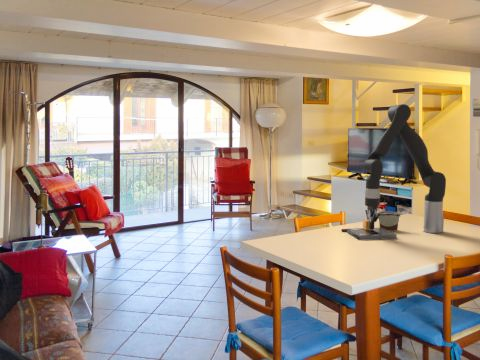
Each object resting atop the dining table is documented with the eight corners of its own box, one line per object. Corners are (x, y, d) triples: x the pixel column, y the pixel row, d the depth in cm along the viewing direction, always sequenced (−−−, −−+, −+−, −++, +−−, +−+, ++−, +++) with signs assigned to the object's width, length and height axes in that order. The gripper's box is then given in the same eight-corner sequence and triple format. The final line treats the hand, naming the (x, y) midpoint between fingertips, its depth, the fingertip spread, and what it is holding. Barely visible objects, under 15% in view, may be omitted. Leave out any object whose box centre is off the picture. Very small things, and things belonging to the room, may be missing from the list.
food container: (397, 228, 269) (397, 211, 268) (399, 230, 263) (400, 213, 262) (375, 228, 270) (375, 210, 269) (377, 230, 264) (377, 212, 263)
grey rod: (359, 230, 263) (359, 228, 263) (360, 231, 262) (360, 228, 262) (340, 231, 262) (340, 228, 262) (341, 231, 261) (341, 229, 260)
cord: (346, 232, 259) (346, 230, 258) (349, 232, 259) (349, 230, 259) (357, 239, 242) (357, 237, 242) (360, 239, 242) (360, 236, 242)
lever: (369, 231, 259) (370, 219, 258) (372, 232, 255) (373, 220, 254) (362, 231, 258) (363, 219, 257) (365, 233, 254) (366, 221, 253)
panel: (381, 231, 262) (382, 227, 262) (396, 238, 244) (396, 234, 244) (347, 232, 260) (347, 228, 259) (359, 239, 242) (359, 235, 242)
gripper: (384, 198, 244) (383, 231, 245) (374, 194, 257) (373, 226, 258) (370, 198, 243) (369, 231, 244) (360, 195, 256) (360, 226, 257)
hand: (371, 228), depth 251 cm, fingers closed
